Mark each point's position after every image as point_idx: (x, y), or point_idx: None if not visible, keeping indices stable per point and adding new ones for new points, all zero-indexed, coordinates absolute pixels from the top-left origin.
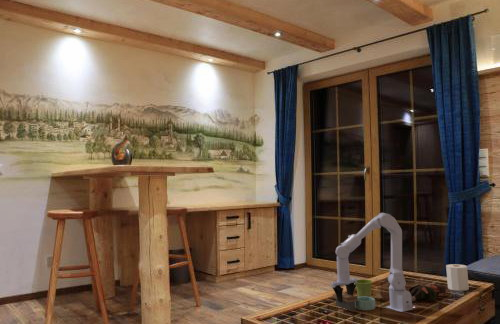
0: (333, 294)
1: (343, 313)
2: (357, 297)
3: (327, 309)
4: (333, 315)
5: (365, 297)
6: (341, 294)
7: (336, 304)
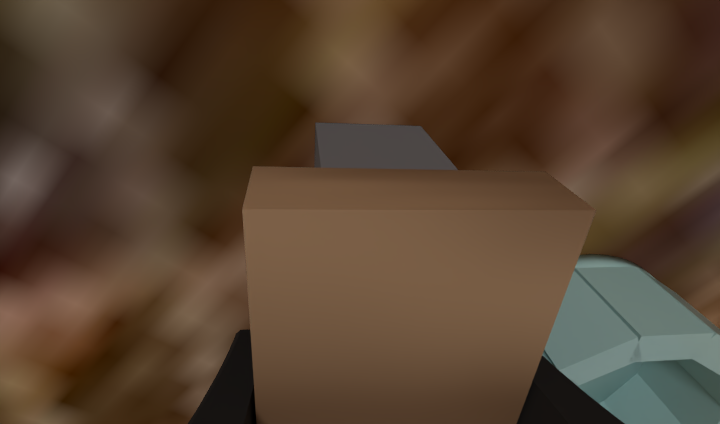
0: (246, 241)
1: (201, 376)
2: (644, 350)
3: (96, 135)
4: (37, 376)
5: (718, 378)
6: None
7: (317, 148)
